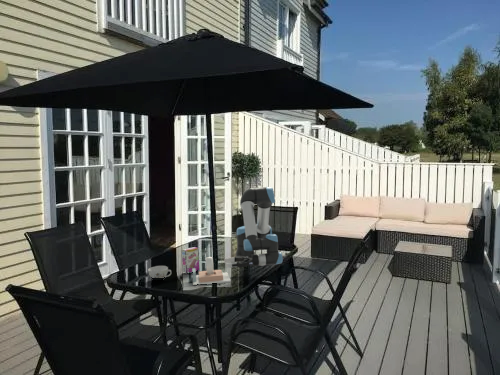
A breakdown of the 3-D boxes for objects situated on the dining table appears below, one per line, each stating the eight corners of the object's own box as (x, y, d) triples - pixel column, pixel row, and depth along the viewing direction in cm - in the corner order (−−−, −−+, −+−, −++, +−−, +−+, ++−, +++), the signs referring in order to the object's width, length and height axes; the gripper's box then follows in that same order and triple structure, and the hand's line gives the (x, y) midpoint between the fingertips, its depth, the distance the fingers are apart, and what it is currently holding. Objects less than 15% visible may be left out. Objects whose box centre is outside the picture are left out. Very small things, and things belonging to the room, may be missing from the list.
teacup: (145, 283, 269) (144, 270, 269) (152, 277, 282) (151, 265, 281) (168, 282, 267) (167, 270, 267) (174, 277, 280) (173, 265, 279)
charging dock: (192, 277, 278) (191, 266, 277) (227, 273, 281) (226, 263, 280) (193, 285, 258) (192, 274, 257) (230, 282, 261) (230, 270, 261)
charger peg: (207, 277, 271) (205, 257, 270) (214, 276, 272) (212, 256, 271) (207, 279, 267) (205, 258, 266) (214, 278, 268) (212, 258, 267)
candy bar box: (186, 274, 285) (185, 250, 284) (182, 273, 288) (180, 249, 287) (200, 270, 292) (198, 247, 291) (195, 269, 296) (194, 246, 295)
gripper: (262, 270, 261) (227, 273, 258) (255, 261, 286) (224, 264, 283) (261, 258, 261) (227, 261, 258) (254, 250, 285) (223, 252, 282)
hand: (225, 262), depth 270 cm, fingers open, 13 cm apart
